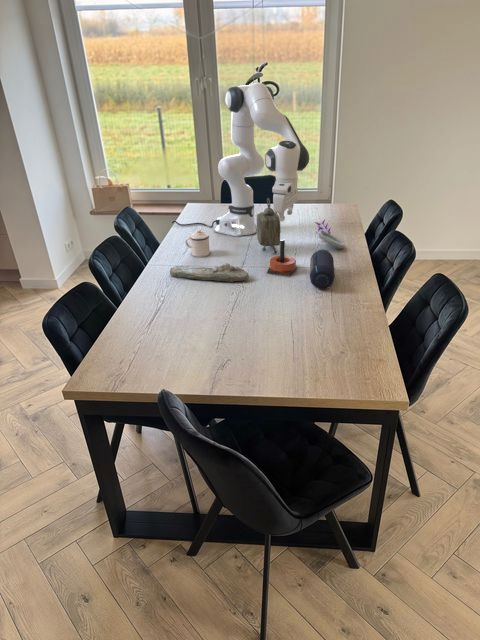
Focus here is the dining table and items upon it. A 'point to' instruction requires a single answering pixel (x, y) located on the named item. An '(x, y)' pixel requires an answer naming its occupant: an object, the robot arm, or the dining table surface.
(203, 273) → the long grey stone
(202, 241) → the teacup with lid
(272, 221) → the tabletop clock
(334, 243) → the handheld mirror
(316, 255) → the portable speaker
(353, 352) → the dining table surface
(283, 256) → the stand
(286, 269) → the ring
